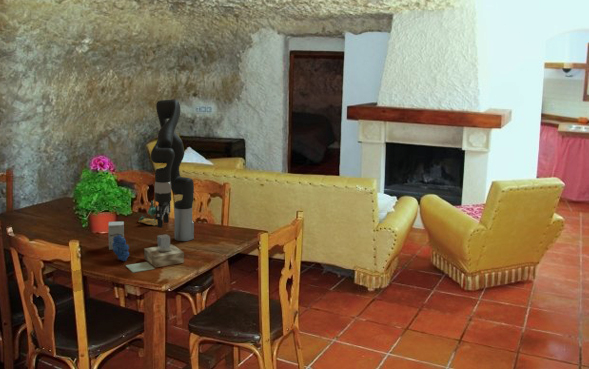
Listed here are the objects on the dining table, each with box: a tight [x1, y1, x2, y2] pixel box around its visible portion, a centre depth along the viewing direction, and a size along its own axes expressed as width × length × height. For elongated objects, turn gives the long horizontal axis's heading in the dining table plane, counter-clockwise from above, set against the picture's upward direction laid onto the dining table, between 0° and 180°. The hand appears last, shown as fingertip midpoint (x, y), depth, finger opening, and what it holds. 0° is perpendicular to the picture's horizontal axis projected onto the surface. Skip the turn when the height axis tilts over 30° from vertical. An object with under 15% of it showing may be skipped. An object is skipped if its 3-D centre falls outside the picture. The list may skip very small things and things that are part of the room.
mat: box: [125, 261, 156, 274], centre depth 266 cm, size 10×10×1 cm
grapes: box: [112, 235, 130, 262], centre depth 274 cm, size 12×7×12 cm, turn 50°
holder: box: [143, 244, 185, 268], centre depth 276 cm, size 14×14×5 cm
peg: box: [156, 233, 171, 253], centre depth 276 cm, size 4×4×12 cm
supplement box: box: [107, 221, 125, 251], centre depth 293 cm, size 7×7×13 cm
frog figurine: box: [137, 200, 158, 227], centre depth 338 cm, size 10×18×15 cm, turn 55°
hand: (163, 225), depth 273 cm, fingers open, 8 cm apart
